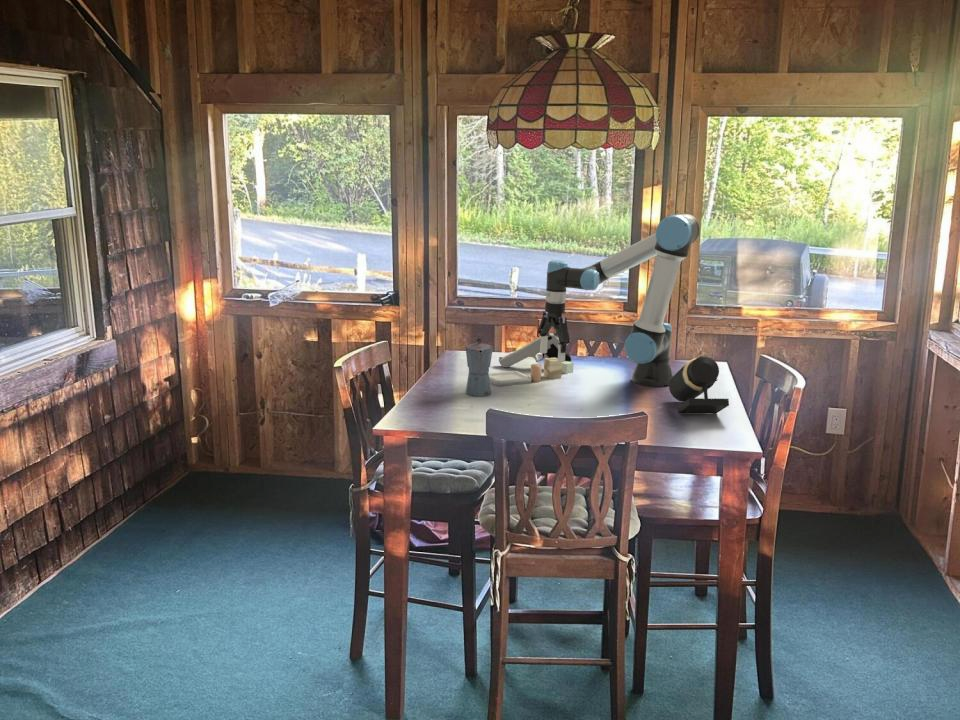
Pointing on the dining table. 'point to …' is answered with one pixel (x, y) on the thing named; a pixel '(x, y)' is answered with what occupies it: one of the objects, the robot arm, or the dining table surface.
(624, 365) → the dining table surface
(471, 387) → the moka pot
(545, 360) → the birch block
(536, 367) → the peach capsule
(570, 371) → the sage block
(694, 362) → the light fixture
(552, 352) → the handgun
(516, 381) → the tray
